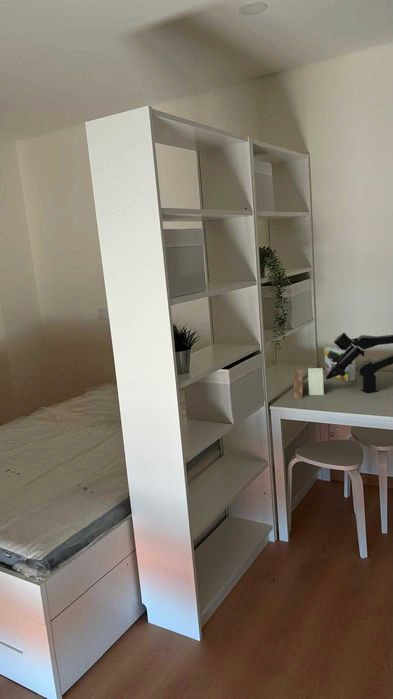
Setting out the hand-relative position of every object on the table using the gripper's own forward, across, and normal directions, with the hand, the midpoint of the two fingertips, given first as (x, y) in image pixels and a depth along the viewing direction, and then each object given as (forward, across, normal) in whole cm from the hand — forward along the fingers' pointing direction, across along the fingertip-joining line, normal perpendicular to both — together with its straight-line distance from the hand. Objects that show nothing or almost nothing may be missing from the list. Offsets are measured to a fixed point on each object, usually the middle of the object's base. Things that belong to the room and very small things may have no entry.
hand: (326, 378), depth 266 cm
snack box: (-1, -28, +11) cm, 29 cm away
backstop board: (+14, 0, -5) cm, 15 cm away
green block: (+8, 0, +1) cm, 8 cm away
